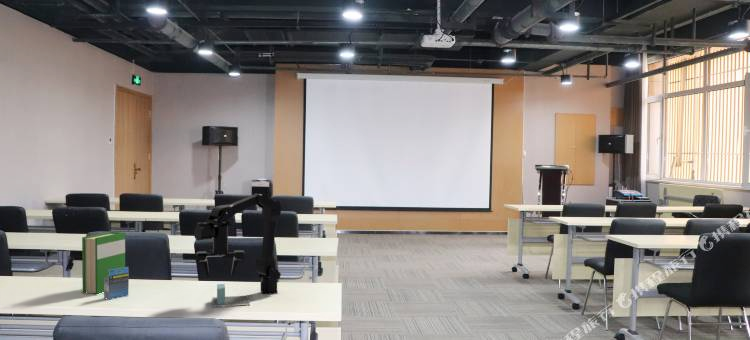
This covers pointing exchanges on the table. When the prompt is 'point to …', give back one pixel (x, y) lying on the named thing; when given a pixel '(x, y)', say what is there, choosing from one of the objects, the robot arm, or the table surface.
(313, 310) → the table surface
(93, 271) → the hardback book
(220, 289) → the block
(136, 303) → the table surface
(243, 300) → the mat
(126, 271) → the label tape box
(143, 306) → the table surface
